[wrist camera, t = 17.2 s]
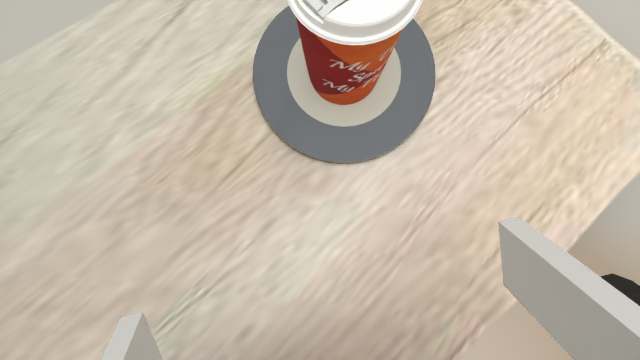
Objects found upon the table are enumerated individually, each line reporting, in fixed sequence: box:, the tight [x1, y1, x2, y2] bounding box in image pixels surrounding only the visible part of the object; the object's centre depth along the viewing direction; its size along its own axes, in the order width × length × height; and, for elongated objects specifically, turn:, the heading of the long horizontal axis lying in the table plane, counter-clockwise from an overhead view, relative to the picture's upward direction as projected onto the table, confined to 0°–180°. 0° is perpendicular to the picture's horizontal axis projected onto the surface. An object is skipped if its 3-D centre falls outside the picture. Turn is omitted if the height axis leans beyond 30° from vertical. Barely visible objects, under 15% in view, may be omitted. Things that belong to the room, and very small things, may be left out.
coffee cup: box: [287, 0, 422, 105], centre depth 32 cm, size 8×8×15 cm
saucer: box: [253, 6, 435, 164], centre depth 40 cm, size 16×16×1 cm
